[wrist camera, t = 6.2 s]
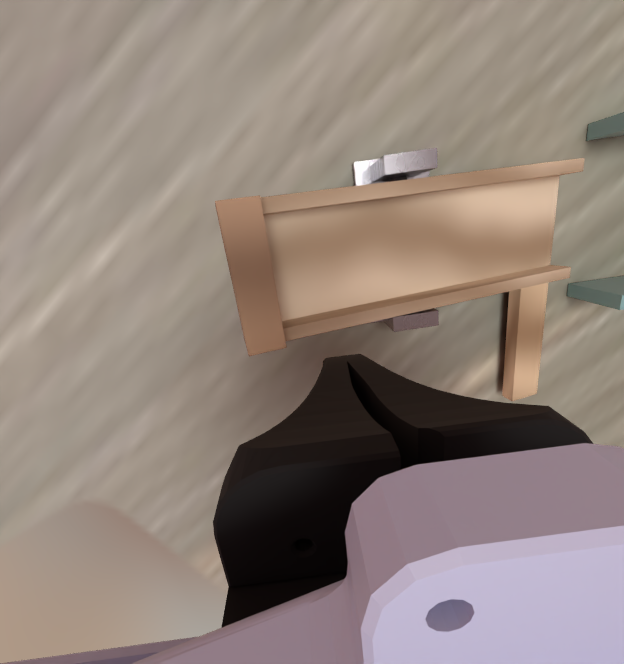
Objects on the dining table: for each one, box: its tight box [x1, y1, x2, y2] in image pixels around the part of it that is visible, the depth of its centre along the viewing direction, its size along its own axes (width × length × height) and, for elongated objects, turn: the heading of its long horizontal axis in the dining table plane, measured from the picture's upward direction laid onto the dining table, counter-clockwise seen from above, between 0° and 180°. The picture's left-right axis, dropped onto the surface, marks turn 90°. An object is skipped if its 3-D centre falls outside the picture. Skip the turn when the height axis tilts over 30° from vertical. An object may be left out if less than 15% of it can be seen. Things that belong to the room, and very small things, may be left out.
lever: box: [215, 158, 585, 401], centre depth 17 cm, size 14×18×3 cm
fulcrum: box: [353, 148, 439, 332], centre depth 17 cm, size 9×4×3 cm, turn 8°
